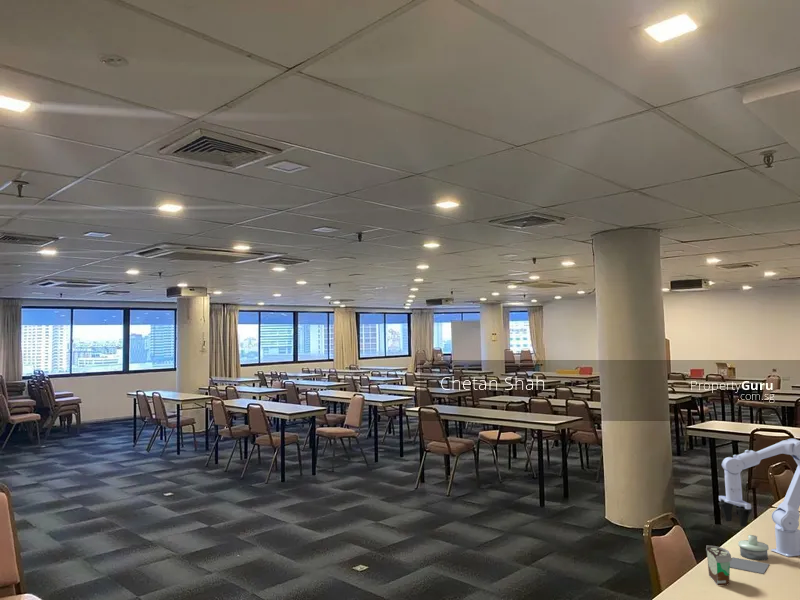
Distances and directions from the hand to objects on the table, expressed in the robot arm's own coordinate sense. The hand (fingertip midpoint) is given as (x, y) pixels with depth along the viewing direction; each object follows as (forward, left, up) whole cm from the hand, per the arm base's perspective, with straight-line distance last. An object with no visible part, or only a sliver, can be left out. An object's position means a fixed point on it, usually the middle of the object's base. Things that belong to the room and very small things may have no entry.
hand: (735, 523), depth 234 cm
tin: (-1, +7, -10) cm, 13 cm away
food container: (+29, +25, -11) cm, 40 cm away
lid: (-1, +7, -7) cm, 10 cm away
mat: (+10, +15, -10) cm, 21 cm away
